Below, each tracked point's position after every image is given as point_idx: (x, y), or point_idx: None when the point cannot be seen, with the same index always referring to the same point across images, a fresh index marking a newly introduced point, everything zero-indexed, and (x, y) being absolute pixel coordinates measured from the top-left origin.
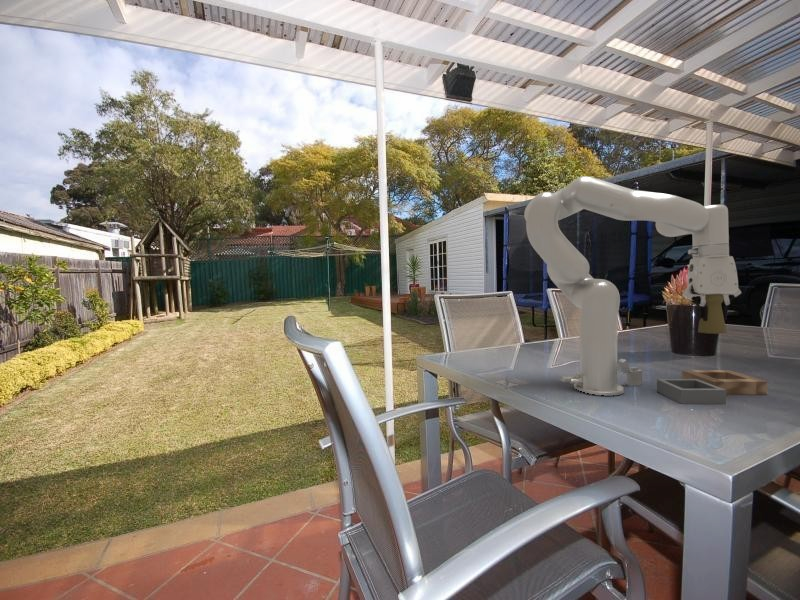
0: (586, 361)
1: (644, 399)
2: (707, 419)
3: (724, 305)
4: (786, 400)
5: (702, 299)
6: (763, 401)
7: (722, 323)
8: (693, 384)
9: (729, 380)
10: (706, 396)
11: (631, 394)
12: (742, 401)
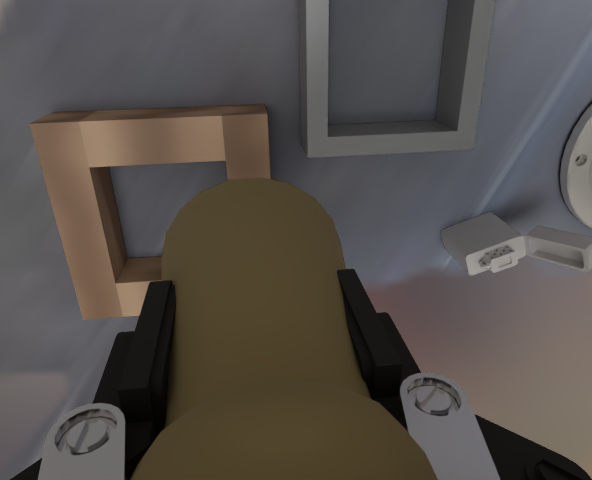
0: None
1: (564, 25)
2: None
3: (145, 389)
4: (18, 27)
5: (470, 454)
6: (123, 9)
7: (216, 229)
8: (333, 131)
9: (186, 137)
10: None
11: (564, 96)
12: (208, 6)
